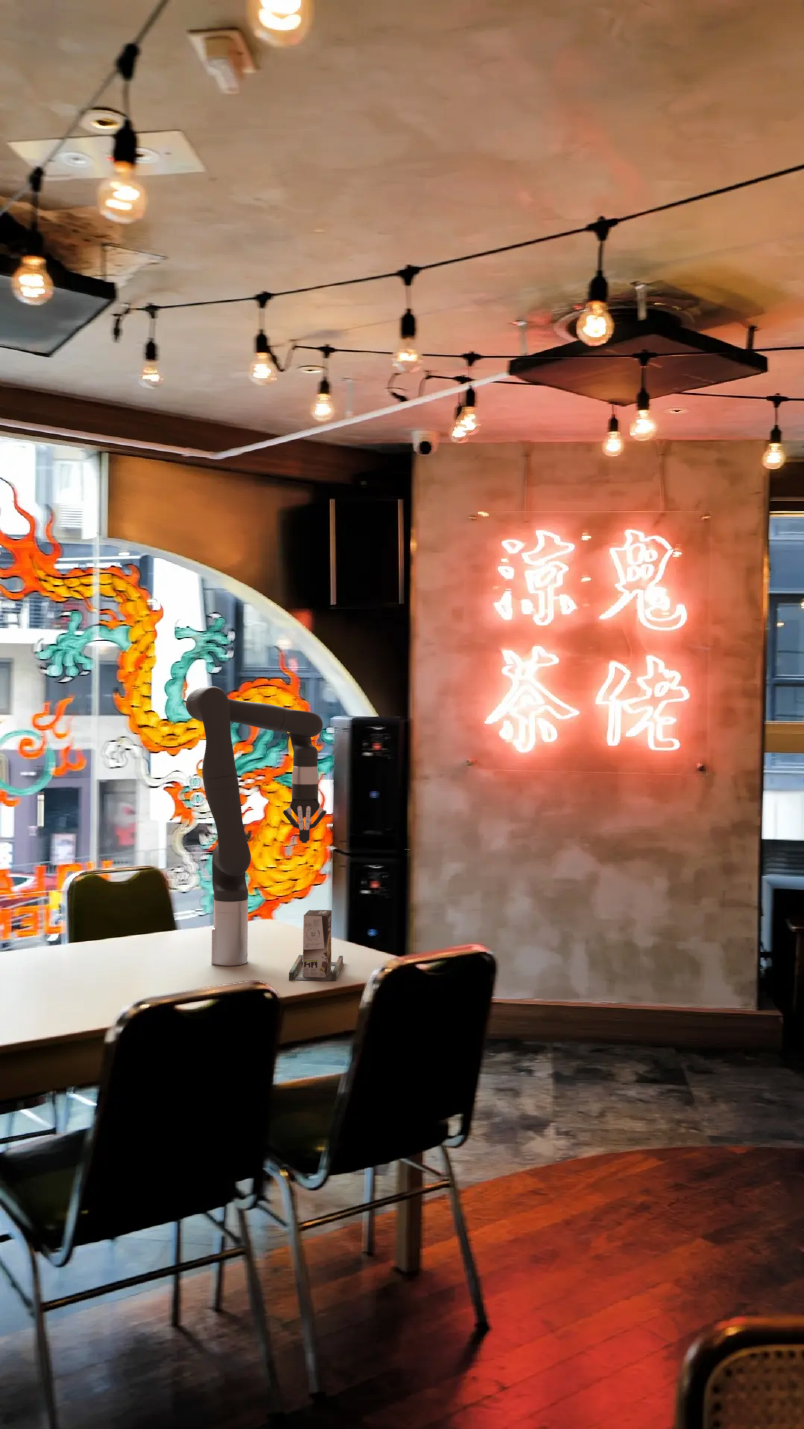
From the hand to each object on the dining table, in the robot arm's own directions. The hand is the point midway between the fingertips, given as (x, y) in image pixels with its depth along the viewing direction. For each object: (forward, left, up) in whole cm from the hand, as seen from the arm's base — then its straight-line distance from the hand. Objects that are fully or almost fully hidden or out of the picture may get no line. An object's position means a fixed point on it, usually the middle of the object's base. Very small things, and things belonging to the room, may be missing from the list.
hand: (304, 842), depth 322 cm
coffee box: (+7, -27, -31) cm, 42 cm away
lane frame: (+7, -24, -31) cm, 40 cm away
